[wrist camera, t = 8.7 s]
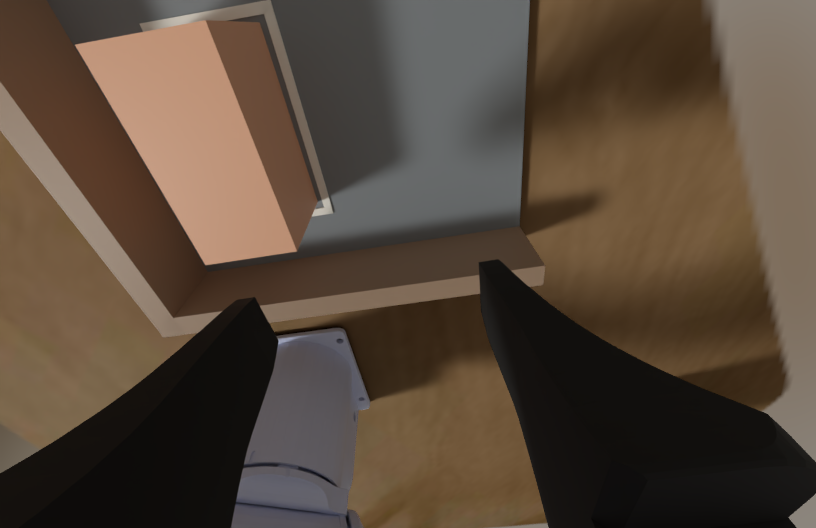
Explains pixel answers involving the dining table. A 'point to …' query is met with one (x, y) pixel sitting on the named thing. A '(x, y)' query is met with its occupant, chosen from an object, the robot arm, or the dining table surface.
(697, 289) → the dining table surface
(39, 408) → the dining table surface
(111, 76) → the terracotta block
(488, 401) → the dining table surface
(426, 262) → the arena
